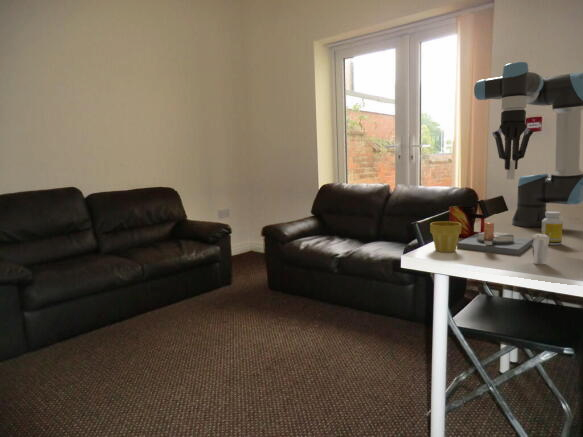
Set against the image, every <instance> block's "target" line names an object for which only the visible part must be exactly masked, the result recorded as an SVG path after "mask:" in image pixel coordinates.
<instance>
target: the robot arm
mask: <svg viewBox="0 0 583 437" xmlns="http://www.w3.org/2000/svg"><path fill="white" fill-rule="evenodd" d="M529 70H530V69H529V64H528V62H526V61H516V62H510V63H507V64H505V65H504V66H503V70H502V76H499V77H490V78H483V79H480V80H477V81H476V83H475V84H474V87H473V93H474V94H473V95H474V97H475V99H477V100H478V101H486V100H501V113H500V125H499V127H498V129H497V130H495V131H492V136H493V138H494V139H495V144H496V149H497V154H498V158H499V159H501V160H503V161H504V170H505V171H506V180H515V176H516V175H515V172H516V170H518V168H519V167H518V164H519V160H521V159H524V157H525V155H526V152H527V148H528V145H529V141H530V138H531V136H532V135H533V133H534V130H533V129H529V128H528V127H527V124H526V121H527V120H526V117H527V116H526V115H527V110H526V108H527V105H530V106H531V105H532V106H551V107H552V111H553V112H555V113H556V115H555V116H556V117H555V118H556V122H555V123H556V124H555V126H556V127H555V131H556V132H555V162H554V163H555V164H554V165H555V168H554V171H552V172H551V173H550V176H549V174H548V173H541V174H532V175H523V176H522V175H521V177H519V178H518V184H517V201H516V202H517V204H516V210H515V212H514V215H513V217H512V220H511V224H512V225H513V226H516V227H523V228H524V227H525V228H542V220H543V219H545V218H546V216H545V212H548V210H547V204H555V205H556V204H558V205H559V204H560V205H568V206H571V205H580V204H581V203H583V171H582V170H581V169H580V160H581V159H580V156H581V155H580V151H581V128H582V127H581V124H582V123H581V122H582V121H581V120H582V110H583V72H572V73H567V74H560V75H555V76H547V77H542V76H541V75H540V74H538V73H537V72H531V71H529ZM522 134H523V137H522V140H521V136H522ZM502 135H503V136H504V144H503V138H502ZM520 140H521V142H520Z"/></svg>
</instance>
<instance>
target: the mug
mask: <svg viewBox="0 0 583 437" xmlns="http://www.w3.org/2000/svg"><path fill="white" fill-rule="evenodd" d="M448 208H449V213H448V214H449V216H448V222H458V223H461V234H459V238H458V239H466V238H468V237H470V236H472V235H475V234H478V233H483V232H484V223H485V217H486V214H483V213H481V214H480V213H475V212H476V211H475V210H476V207H475V206H469V205H455V206H449V207H448ZM475 219H479V220H480V231H475Z"/></svg>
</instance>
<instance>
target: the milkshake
mask: <svg viewBox="0 0 583 437" xmlns="http://www.w3.org/2000/svg"><path fill="white" fill-rule="evenodd" d="M550 234H551V233H550ZM550 234H549V236H550ZM549 236H547V235H545V234H541V233H535V234H533V235H532V236H531V239H532V245H531V246H532V264H534V265H538V266H539V265H540V266H544V265H546V263H547V257H548V256H547V255H548V249H549Z"/></svg>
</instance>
